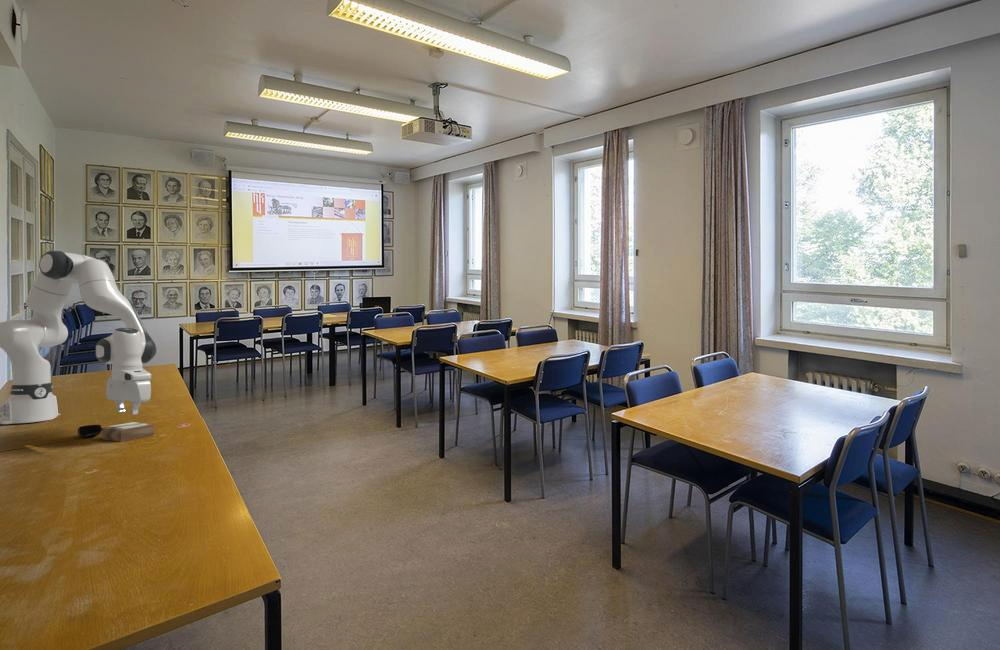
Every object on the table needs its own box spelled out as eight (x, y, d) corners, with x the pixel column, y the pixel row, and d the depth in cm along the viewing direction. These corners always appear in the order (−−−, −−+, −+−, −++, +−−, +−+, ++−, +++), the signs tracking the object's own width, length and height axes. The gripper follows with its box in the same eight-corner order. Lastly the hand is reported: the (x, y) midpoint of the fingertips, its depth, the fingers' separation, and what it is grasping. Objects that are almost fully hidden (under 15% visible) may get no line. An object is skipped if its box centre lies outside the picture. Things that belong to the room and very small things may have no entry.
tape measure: (101, 433, 186) (100, 423, 187) (76, 437, 182) (76, 426, 183) (103, 434, 192) (102, 424, 192) (79, 438, 188) (78, 427, 188)
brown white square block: (101, 438, 184) (101, 426, 184) (135, 432, 194) (134, 421, 194) (120, 441, 179) (120, 429, 179) (153, 435, 189) (153, 423, 189)
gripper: (100, 373, 188) (100, 412, 188) (135, 376, 179) (136, 417, 180) (119, 372, 194) (119, 410, 194) (154, 374, 185) (155, 414, 185)
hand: (127, 413), depth 187 cm, fingers open, 6 cm apart
